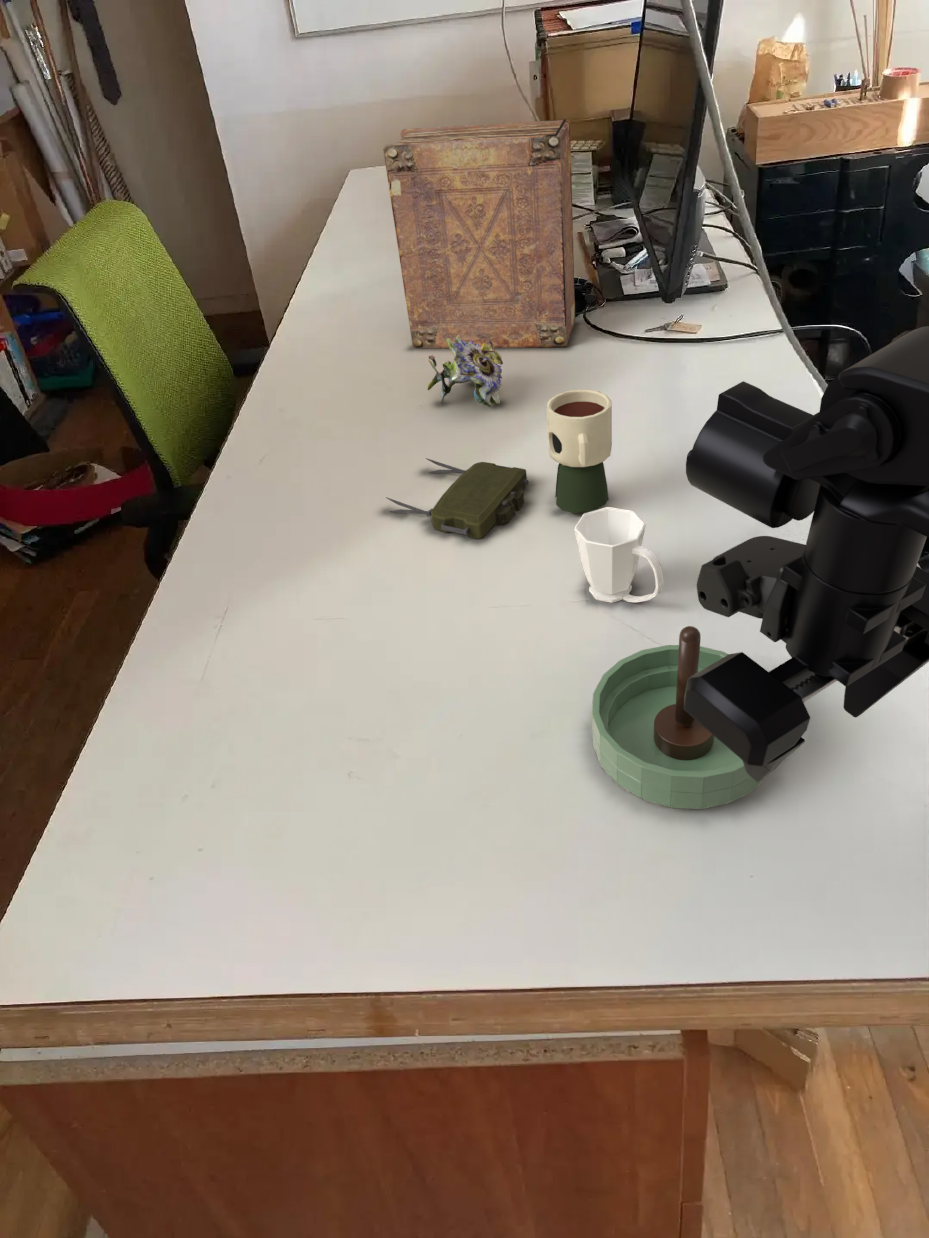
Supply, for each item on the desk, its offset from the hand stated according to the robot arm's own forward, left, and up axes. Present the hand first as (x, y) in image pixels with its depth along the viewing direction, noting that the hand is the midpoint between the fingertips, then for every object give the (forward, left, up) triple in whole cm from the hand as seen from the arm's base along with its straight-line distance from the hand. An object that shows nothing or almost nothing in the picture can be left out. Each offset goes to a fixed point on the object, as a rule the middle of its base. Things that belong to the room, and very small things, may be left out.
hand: (803, 743), depth 61 cm
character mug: (+32, -42, -13) cm, 54 cm away
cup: (+22, -27, -13) cm, 37 cm away
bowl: (+10, -9, -13) cm, 19 cm away
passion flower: (+57, -62, -13) cm, 85 cm away
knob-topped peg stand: (+10, -9, -13) cm, 18 cm away
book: (+63, -84, -13) cm, 105 cm away
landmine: (+46, -38, -13) cm, 61 cm away
